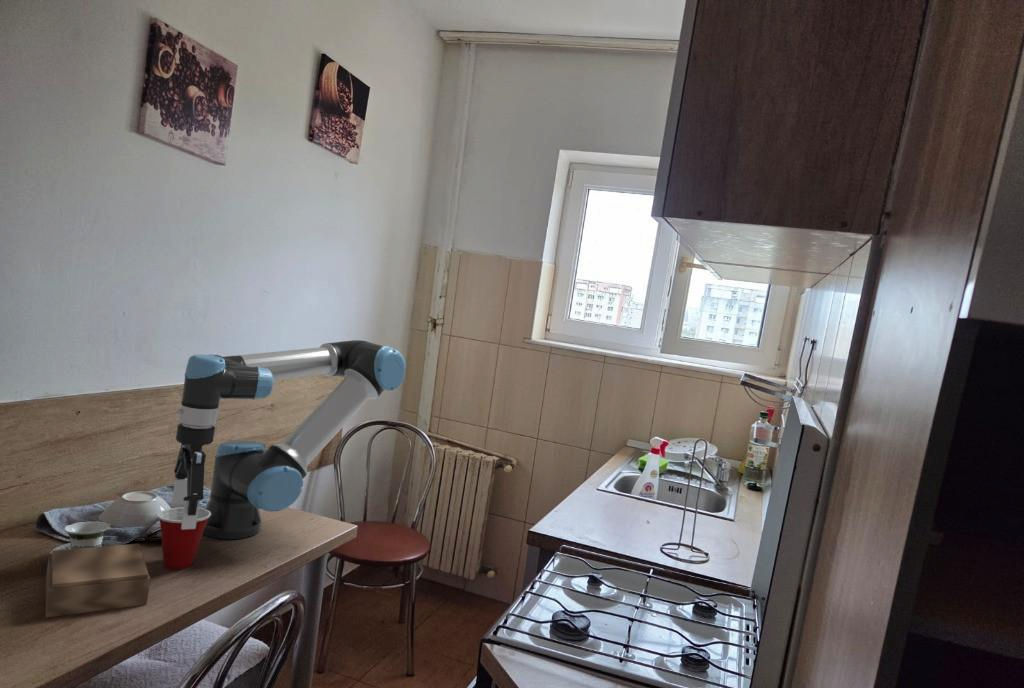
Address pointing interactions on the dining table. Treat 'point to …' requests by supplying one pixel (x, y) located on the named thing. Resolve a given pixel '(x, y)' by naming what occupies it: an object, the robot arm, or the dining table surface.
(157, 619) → the dining table surface
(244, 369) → the robot arm
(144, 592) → the brown flat block
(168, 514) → the plastic cup
